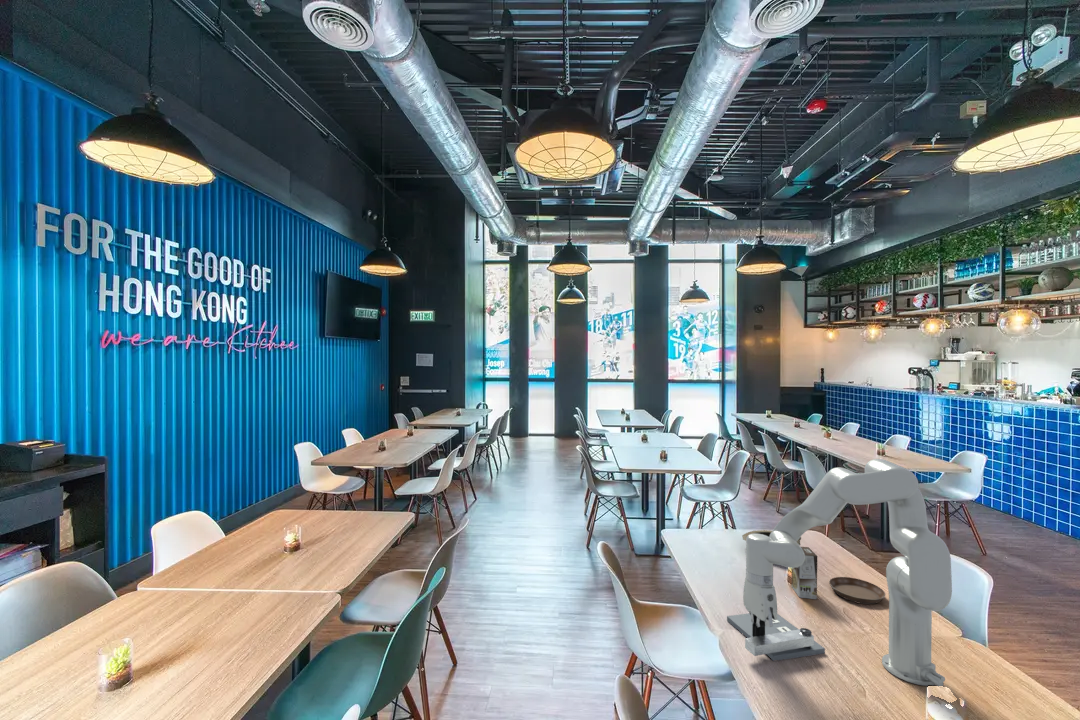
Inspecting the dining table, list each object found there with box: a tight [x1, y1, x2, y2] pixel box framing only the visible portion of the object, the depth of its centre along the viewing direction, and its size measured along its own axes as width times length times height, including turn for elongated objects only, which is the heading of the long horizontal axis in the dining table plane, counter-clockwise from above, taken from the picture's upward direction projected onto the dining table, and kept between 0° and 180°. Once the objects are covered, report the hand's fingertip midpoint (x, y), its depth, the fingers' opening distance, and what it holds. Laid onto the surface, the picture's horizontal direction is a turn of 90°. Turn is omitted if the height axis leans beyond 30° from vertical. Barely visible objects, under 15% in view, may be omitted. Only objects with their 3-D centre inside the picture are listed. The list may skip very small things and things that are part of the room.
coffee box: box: [791, 546, 819, 600], centre depth 178 cm, size 9×6×16 cm
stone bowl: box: [741, 529, 802, 547], centre depth 216 cm, size 25×25×9 cm
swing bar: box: [744, 627, 815, 657], centre depth 139 cm, size 22×4×4 cm, turn 105°
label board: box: [726, 612, 826, 662], centre depth 149 cm, size 22×18×2 cm
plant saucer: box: [828, 576, 886, 605], centre depth 177 cm, size 18×18×3 cm
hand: (758, 637), depth 141 cm, fingers closed
